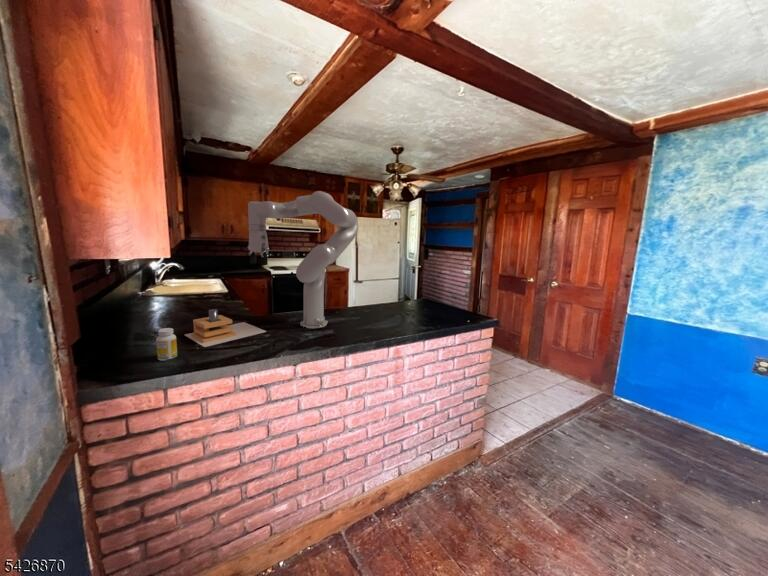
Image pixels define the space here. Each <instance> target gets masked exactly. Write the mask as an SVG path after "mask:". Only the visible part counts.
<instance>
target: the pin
mask: <svg viewBox="0 0 768 576" xmlns="http://www.w3.org/2000/svg"><path fill="white" fill-rule="evenodd" d="M218 315H219V314H218V309H216V308H215V309H214V308H213V309H208V317H209V322H210V323H211V322H216V321H218ZM217 329H218V326H217V327H212V328H210V331H212V330H217Z"/></svg>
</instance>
